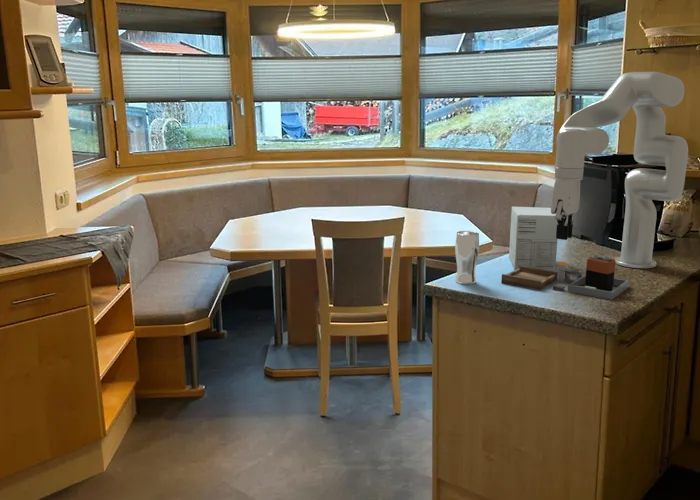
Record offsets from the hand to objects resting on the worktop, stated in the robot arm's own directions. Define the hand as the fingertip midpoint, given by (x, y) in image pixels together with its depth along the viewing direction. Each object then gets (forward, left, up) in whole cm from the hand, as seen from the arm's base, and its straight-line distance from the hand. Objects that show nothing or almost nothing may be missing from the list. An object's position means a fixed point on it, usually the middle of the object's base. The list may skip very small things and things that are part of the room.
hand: (563, 237), depth 192 cm
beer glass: (+10, -25, -15) cm, 31 cm away
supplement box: (-22, -18, -15) cm, 32 cm away
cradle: (-7, +9, -15) cm, 19 cm away
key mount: (-5, 0, -15) cm, 16 cm away
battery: (-7, +9, -15) cm, 19 cm away
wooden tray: (-2, -10, -15) cm, 18 cm away
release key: (-4, 0, -11) cm, 12 cm away
